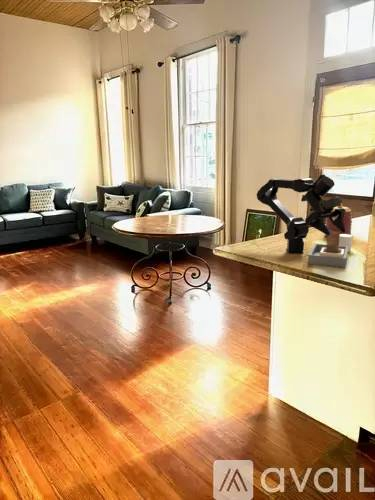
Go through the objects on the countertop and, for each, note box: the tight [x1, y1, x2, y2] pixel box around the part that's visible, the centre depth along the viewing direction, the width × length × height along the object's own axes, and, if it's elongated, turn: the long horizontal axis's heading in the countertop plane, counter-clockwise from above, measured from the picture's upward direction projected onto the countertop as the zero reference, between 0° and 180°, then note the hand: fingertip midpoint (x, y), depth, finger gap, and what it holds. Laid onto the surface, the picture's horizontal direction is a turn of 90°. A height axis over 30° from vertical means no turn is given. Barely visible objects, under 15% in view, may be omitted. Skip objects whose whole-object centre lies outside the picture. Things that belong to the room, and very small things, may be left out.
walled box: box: [307, 243, 349, 269], centre depth 155 cm, size 14×20×5 cm
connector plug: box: [326, 230, 340, 253], centre depth 149 cm, size 5×5×12 cm
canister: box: [324, 203, 354, 237], centre depth 194 cm, size 13×13×18 cm
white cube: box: [339, 234, 354, 252], centre depth 168 cm, size 7×7×7 cm
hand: (336, 233), depth 147 cm, fingers open, 9 cm apart
